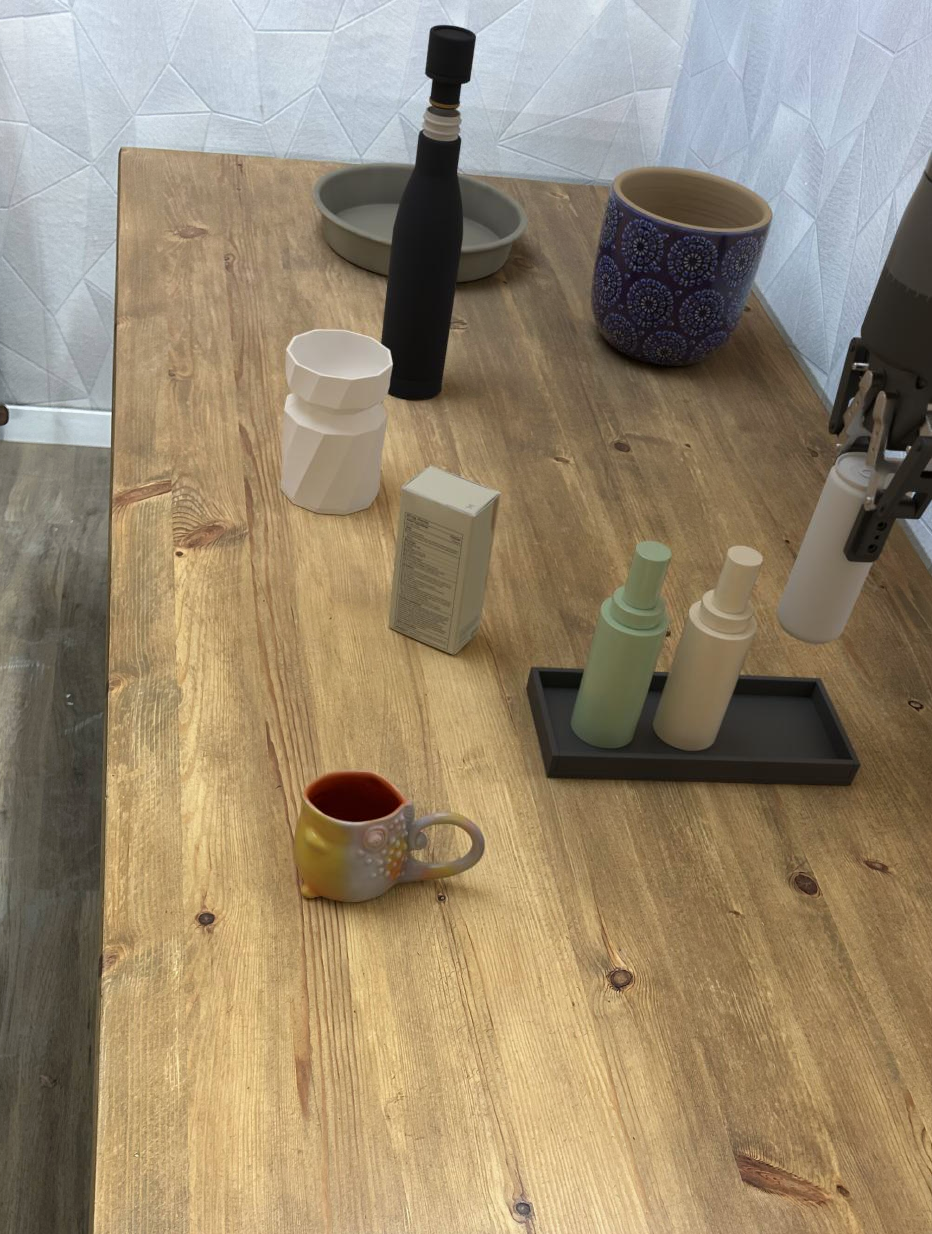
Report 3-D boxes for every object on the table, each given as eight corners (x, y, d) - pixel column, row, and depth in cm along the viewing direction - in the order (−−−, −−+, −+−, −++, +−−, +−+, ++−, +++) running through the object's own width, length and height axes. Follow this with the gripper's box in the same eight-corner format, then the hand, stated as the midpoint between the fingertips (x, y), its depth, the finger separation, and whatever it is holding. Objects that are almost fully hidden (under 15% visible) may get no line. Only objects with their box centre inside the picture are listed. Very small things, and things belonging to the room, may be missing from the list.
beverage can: (760, 621, 94) (819, 464, 85) (798, 598, 96) (859, 443, 88) (816, 656, 92) (883, 499, 83) (854, 631, 94) (923, 476, 86)
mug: (283, 900, 85) (289, 824, 80) (301, 826, 89) (307, 749, 85) (471, 930, 85) (488, 856, 80) (479, 855, 90) (495, 780, 85)
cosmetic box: (480, 632, 106) (506, 492, 97) (453, 658, 104) (478, 517, 95) (410, 600, 108) (430, 461, 99) (382, 626, 105) (400, 484, 96)
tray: (811, 699, 106) (820, 677, 104) (850, 785, 99) (861, 764, 98) (525, 688, 102) (531, 666, 101) (547, 777, 96) (552, 755, 94)
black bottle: (369, 391, 130) (406, 33, 108) (386, 363, 135) (424, 14, 113) (433, 406, 130) (483, 50, 108) (447, 377, 134) (498, 30, 112)
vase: (358, 525, 114) (372, 390, 106) (263, 497, 116) (269, 361, 107) (392, 478, 120) (408, 346, 111) (301, 451, 121) (310, 319, 112)
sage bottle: (627, 707, 101) (680, 532, 90) (640, 749, 98) (697, 573, 87) (565, 705, 100) (611, 528, 89) (576, 748, 97) (625, 569, 86)
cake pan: (558, 248, 159) (565, 208, 156) (452, 312, 144) (458, 269, 141) (384, 184, 166) (388, 144, 163) (266, 238, 151) (267, 195, 148)
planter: (730, 393, 139) (776, 244, 128) (573, 363, 140) (606, 211, 129) (730, 326, 151) (772, 183, 140) (584, 298, 151) (615, 153, 140)
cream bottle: (707, 710, 102) (769, 537, 91) (722, 752, 99) (789, 578, 88) (646, 708, 101) (702, 533, 90) (660, 750, 98) (719, 574, 87)
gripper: (1066, 334, 72) (936, 602, 85) (968, 225, 81) (864, 481, 94) (935, 324, 71) (823, 597, 84) (851, 214, 80) (762, 474, 93)
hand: (846, 534), depth 89 cm, fingers closed on beverage can, 5 cm apart
